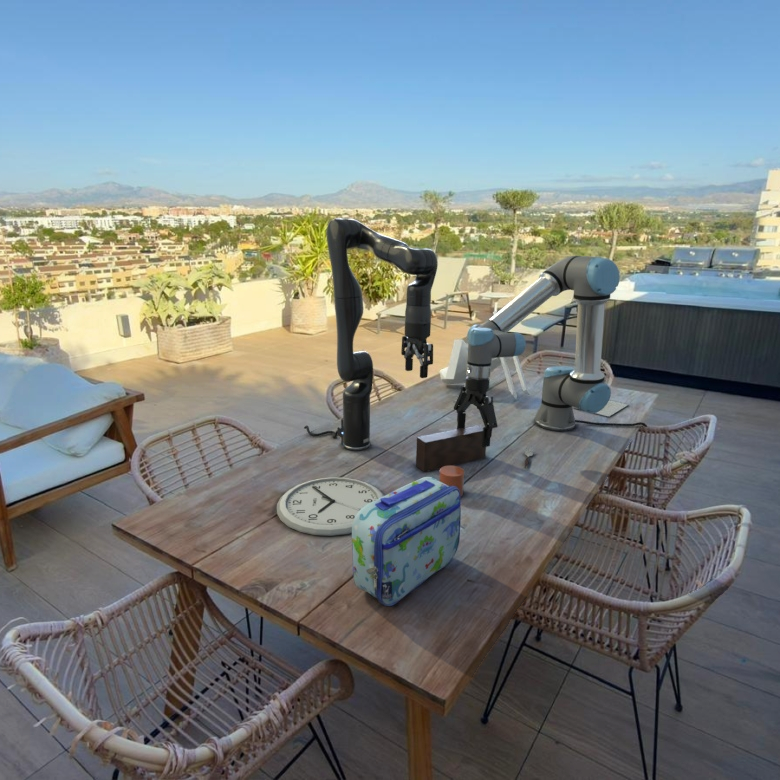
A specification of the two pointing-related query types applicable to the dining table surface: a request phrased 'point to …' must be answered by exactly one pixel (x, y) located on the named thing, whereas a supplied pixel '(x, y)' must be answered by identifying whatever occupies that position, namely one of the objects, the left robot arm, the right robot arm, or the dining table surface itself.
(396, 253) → the left robot arm
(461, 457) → the walnut box
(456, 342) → the white plastic object
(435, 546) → the lunch box
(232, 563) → the dining table surface
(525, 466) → the fork
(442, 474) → the orange clay cylinder
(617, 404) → the invitation card
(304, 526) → the wall clock
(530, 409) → the dining table surface
